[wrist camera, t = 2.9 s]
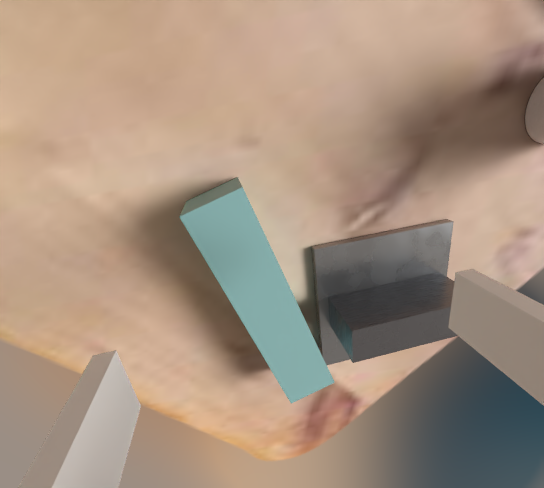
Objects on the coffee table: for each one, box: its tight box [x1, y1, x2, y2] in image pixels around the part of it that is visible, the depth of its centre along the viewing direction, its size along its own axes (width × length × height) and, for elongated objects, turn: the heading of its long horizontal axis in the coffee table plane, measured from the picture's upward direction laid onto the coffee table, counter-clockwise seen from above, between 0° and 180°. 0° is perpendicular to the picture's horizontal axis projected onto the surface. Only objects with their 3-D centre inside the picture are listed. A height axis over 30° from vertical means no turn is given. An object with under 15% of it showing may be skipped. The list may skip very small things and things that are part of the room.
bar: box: [179, 177, 334, 403], centre depth 24 cm, size 4×20×5 cm, turn 23°
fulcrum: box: [312, 219, 458, 365], centre depth 27 cm, size 14×14×6 cm
